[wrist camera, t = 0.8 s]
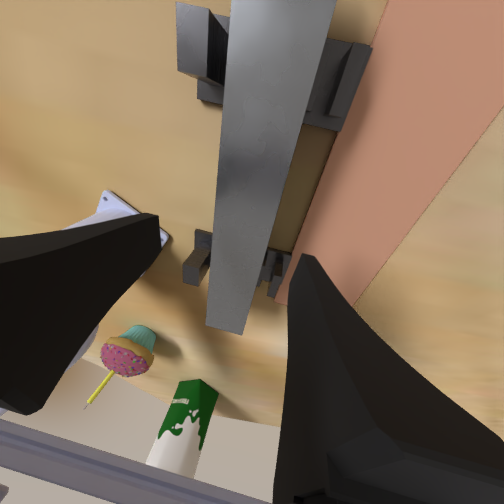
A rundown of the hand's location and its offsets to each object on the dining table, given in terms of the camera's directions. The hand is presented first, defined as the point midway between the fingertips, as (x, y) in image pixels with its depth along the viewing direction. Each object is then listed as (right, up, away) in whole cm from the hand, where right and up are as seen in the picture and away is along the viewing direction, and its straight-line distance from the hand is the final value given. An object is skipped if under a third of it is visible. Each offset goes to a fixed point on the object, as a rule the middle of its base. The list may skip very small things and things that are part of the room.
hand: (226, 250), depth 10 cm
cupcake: (-19, -15, +27) cm, 37 cm away
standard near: (+3, +12, +4) cm, 13 cm away
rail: (+1, +4, +6) cm, 8 cm away
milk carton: (-11, -33, +37) cm, 51 cm away
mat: (+11, +3, +8) cm, 14 cm away
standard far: (0, -1, +13) cm, 13 cm away
